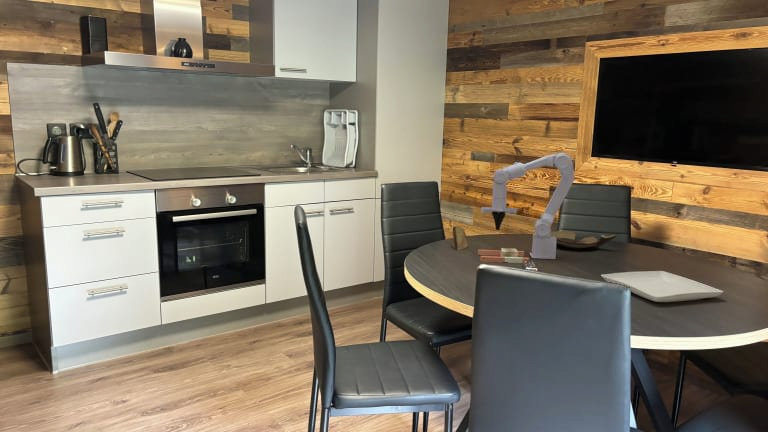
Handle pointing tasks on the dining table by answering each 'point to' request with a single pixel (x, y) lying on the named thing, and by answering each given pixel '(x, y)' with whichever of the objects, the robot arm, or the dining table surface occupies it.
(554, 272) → the dining table surface
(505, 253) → the maple block
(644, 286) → the square plate
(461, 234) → the rock
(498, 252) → the pink-beige flat slab
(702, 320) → the dining table surface
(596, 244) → the dark brown bowl
